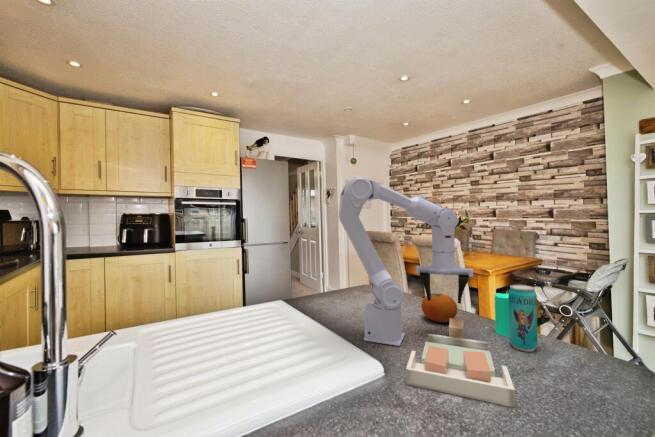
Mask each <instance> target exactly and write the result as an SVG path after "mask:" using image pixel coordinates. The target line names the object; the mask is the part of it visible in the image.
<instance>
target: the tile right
mask: <svg viewBox="0 0 655 437" xmlns="http://www.w3.org/2000/svg"><path fill="white" fill-rule="evenodd" d="M463 362H464V366H465V370H466V374H467V378H468V379H472V380H477V381H484V382H491V370H490V367H489V364H488V361H487V358H486V355H485V353H484V352H473V351H463Z"/></svg>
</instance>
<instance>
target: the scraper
mask: <svg viewBox="0 0 655 437" xmlns="http://www.w3.org/2000/svg"><path fill="white" fill-rule="evenodd" d="M448 322H449V325H448V332H449V333H448V334H449V336H448V335H441V334H434V333H428V334H427V342H433V343H439V344H446V345H453V346H459V347H466V348H472V349H479V350H486V351H488V342H487V341H484V340H477V339H470V338H464V335H465V333H464V332H465V331H464V319H462V318H460V319H459V318H450V321H448Z"/></svg>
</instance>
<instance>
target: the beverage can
mask: <svg viewBox="0 0 655 437" xmlns="http://www.w3.org/2000/svg"><path fill="white" fill-rule="evenodd" d="M508 293H509V337H508V338H509V341H510V343H511V347H512V348H514V349H515V350H517V351H521V352H526V353H532V352H534V351H535V350H536V348H537V346H538V304H537V301H538V299H537V298H538V296H537V292H536V288H535V287H533V286H530V285H525V284H511V285H509V290H508Z"/></svg>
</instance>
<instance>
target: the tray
mask: <svg viewBox="0 0 655 437" xmlns="http://www.w3.org/2000/svg"><path fill="white" fill-rule="evenodd" d="M416 351H417V350H411V353H410V356H409V359H408V361H407V364H406V368H405V384H406V386H407V385H408V386H412V387H415V388H416V387H417V388H421V389H427V390H430V391H435V392H439V393H440V392H441V393H445V394H449V395H455V396H458V397H463V398H467V399H468V398H469V399H473V400H477V401H482V402H486V403H492V404H496V405H500V406H505V407H508V408H509V407H510V408H513V409H515V408H516V392H515V391H516V390H515V387H514V384H513V382H512V378H511V376H510V375H511V374H510V373H509V370H508V366H507V365H501V377H497V376H495V377H493V376H491V382H484V381H477V380H472V379H468V378H467V374H466V372H465V371H460V370H454V369H449V368H447V372H446V374H440V373H435V372H430V371H425V365H424V364H422V362H421V363H420V362H417V354H416V353H417V352H416Z"/></svg>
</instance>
